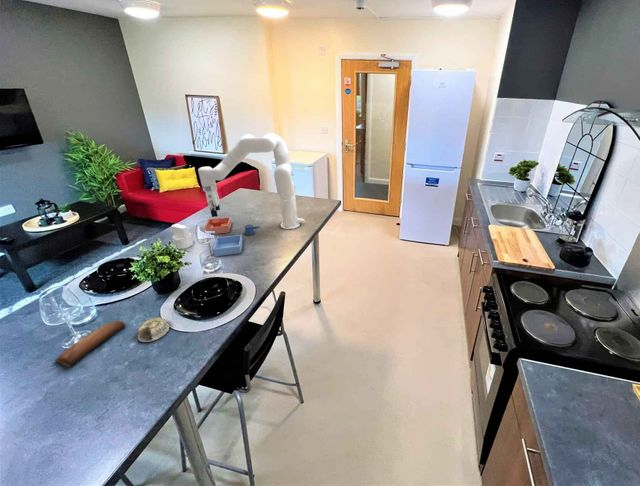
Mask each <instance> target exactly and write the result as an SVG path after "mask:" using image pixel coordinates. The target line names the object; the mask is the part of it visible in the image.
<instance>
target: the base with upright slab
mask: <svg viewBox="0 0 640 486" xmlns="http://www.w3.org/2000/svg"><path fill="white" fill-rule="evenodd" d="M171 229H172V234H173V236H172V240H173V244H174V246H175V245H176V246H177V248H178V249H179V250H184V249H188V248H190V247H191V246H193V245H194V239H193V236H192V233H191V232H190V231H189V228H188V226H187V225H183V224H179V223H174V224H172V225H171ZM177 248H176V249H177Z"/></svg>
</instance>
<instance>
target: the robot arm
mask: <svg viewBox="0 0 640 486" xmlns="http://www.w3.org/2000/svg"><path fill="white" fill-rule="evenodd" d="M286 143H287V142H286V141H285V140H284V139H283V138H282V137H281V136H280V135H278V134H276V133H272V132H270V133H269V132H268V133H266V134H265V135H263V136H259V137H258V136H256V137H255V136H254V135H253V134H249V133H248V134H247V133H246V134H245V135H243V136H242V137H240V138H239V140H238V141H237V142H236V143H235V144H234V146H232V147H231V149H230V150H229V151H228V152H227V154H226V156H225V157H224V158H223V159H222V160H221V161H220V162H219V163H218V164H217V165H216V166H215V167H213V168H212V167H211V166H209V165H208V166H202V167H199V168H198V169H197V172H198V176H199V180H200V184H201V187H202V191H203V192H205V198H206V201H207V205H208V207H209V211H210V216H211V218H216V217H217V218H218V211H220V210H221V207H220V203H221V200H220V197H219V193H218V187H217V183H216V181H223V180H224V179H225V178H226V177H227V176H228V175H229V174H230V172H232V170H234V168H236V166H238V164H240V163H242V162H243V161H244V160H245V158H246V157H247V156H248V155H249V154H250V153H251V154H259V153H261V154H262V153H271V152H273V158H274V163H275V169H274V173H273V176H274V182H275V187H276V188H275V189H276V193H277V195H278V197H279V200H280V209H281V220H282V222H281V223H280V227H281V228H282V229H283V230H295V229H298V228H299V227H300V226H301V223H305V222H306V221H305V220H306V219H305V218H303V217H300V218H299V217H298V209H297V198H296V197H297V196H296V184H295V182H294V181H293V179H292V174H293V170H292V166H291V158H290V155H289V154H290V153H289V150H288V146H287V144H286Z"/></svg>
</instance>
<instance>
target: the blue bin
mask: <svg viewBox="0 0 640 486" xmlns="http://www.w3.org/2000/svg"><path fill="white" fill-rule="evenodd" d="M243 243H244V240H243V234H237V235H227V236H219V237H216V239H215V243H214V245H213V249H212V251H213V255H214V257H221V256H229V255H237V254H241V253H242V249H243Z"/></svg>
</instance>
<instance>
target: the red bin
mask: <svg viewBox="0 0 640 486" xmlns="http://www.w3.org/2000/svg"><path fill="white" fill-rule="evenodd" d="M214 220H220V222H224V221H227V223H226V224H221V226H219V227H213V224H212V221H214ZM231 226H232V218H231V216H227V217H217V218H216V217H214V218H207V220H206V224H205V226H204V228H203V229H204V231H205V230H206V231H215V233H216V234H215V235H217V234H225V233H226V234H227V233H230V232H231V231H230V230H231Z"/></svg>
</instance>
